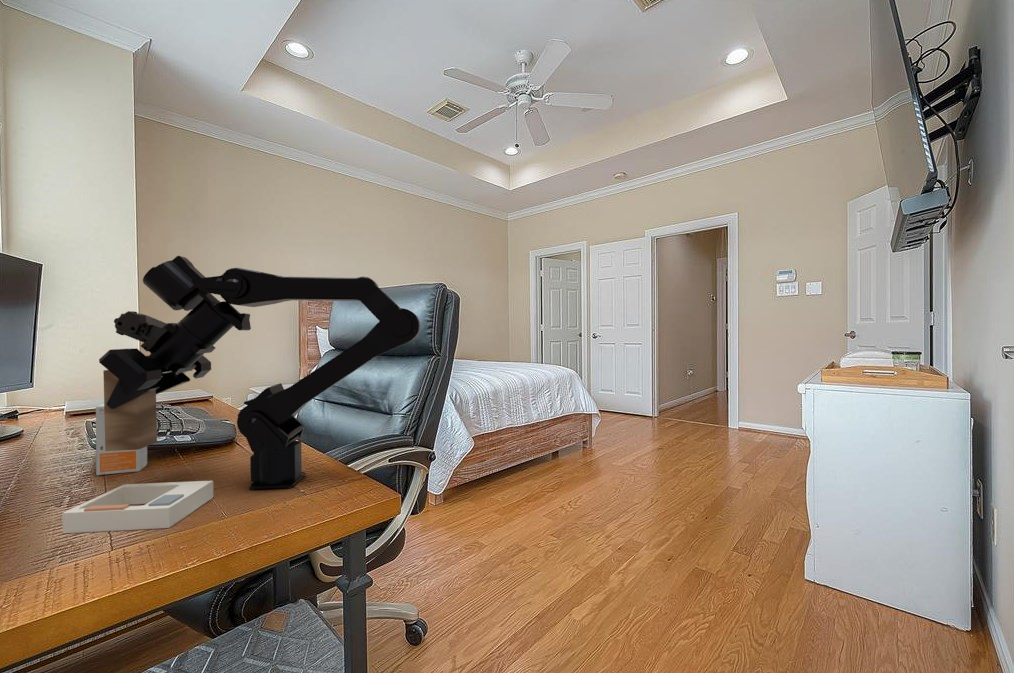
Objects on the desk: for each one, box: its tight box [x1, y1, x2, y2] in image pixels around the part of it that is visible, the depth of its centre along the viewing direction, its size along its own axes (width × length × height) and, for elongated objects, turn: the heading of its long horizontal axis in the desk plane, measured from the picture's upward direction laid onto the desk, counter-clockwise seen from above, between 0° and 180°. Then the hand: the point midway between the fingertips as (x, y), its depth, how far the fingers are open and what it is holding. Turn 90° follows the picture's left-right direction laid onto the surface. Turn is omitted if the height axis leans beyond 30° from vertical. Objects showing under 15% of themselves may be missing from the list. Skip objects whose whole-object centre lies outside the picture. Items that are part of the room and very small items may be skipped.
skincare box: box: [95, 403, 148, 476], centre depth 77 cm, size 6×4×12 cm
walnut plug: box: [102, 369, 158, 451], centre depth 67 cm, size 4×4×13 cm
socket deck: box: [61, 480, 214, 534], centre depth 59 cm, size 12×10×3 cm
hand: (120, 404), depth 67 cm, fingers closed on walnut plug, 4 cm apart
